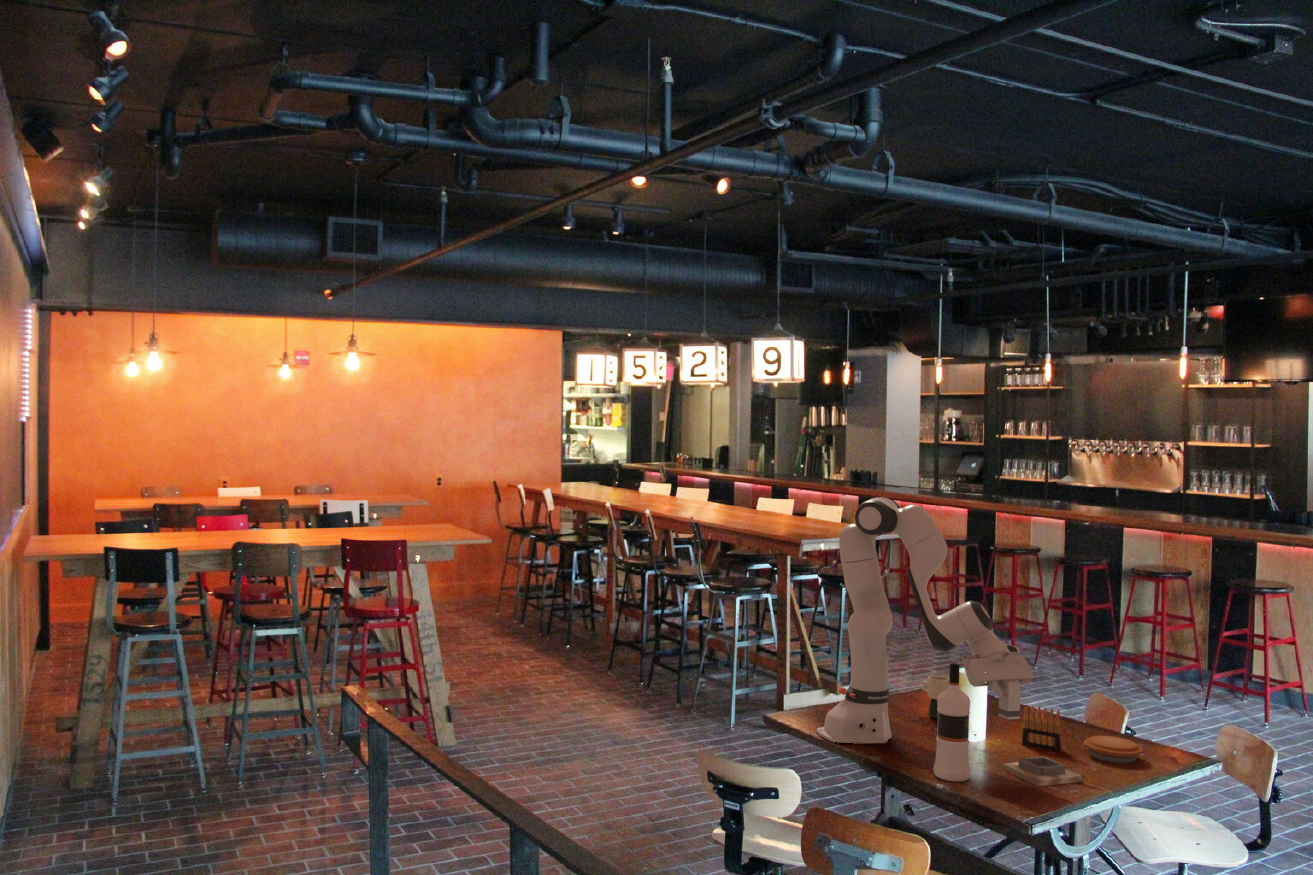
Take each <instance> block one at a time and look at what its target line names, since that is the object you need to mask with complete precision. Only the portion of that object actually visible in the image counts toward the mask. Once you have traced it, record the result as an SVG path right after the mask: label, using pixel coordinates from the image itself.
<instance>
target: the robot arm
mask: <svg viewBox="0 0 1313 875" xmlns="http://www.w3.org/2000/svg"><path fill="white" fill-rule="evenodd" d="M854 521H855V522H854V523H850V524H848V525H846V526H844V527H843V528H842V529H841V530H840V532H839V534H838V535H839V536H838V538H839V540H838V542H839V545H838V546H839V547H838V548H839V557H840V562H841V563H840V564H841V570H842V574H843V575H842V576H843V580H844V585H845V590H846V591H847V594H848V595H849V596H848V597H849V599H850V602H851V604H852V609H853V613H852V614H851V615H850V616H849V618H848V622H847V633H848V645H849V646H848V647H849V653H850V684H849V686H848V687H847V688H845V687H844V686H840V687H839V688H838V690H837V691H838V693H839V694H841V695H842V696H843V695H844V699H842V700H841V701H840V702H839V703H838V704H837V705H835V706H833V707H832V709H830V710H829V711H828V712H827V713H826V715H825V720H824V725H823V726H822V727H817V728H816V734H817V733H818V734H817V735H818V736H820V737H821V736H822V737H821V738H823V737H824V738H825V740H826V739H827V741H828V742H832V743H835V742H842V743H844V742H845V743H847V742H848V743H852V742H854V743H853V744H887V743H888V740H889V739H892V737H893V735H892V731H891V730H892V729H891V727H890V720H889V709H888V708H889V707H888V706H889V703H890V702H889V701H890V689H889V687H888V685H889V684H888V682H889V661H888V660H889V659H888V652H887V640H886V639H887V635H888V634H889V633H890V631H891V630H892V628H893V623H894V619H893V618H894V617H893V614H892V612H891V608H890V603H889V600H888V597H887V594H886V591H885V588H884V584H883V580H882V574H881V569H880V563H879V558H878V553H877V548H876V547H877V546H876V542H877V538H878V537H881V536H882V535H885V534H890V533H891V534H892V533H894V534H896V535H897V536H898V538H900V540H901V541H902V544H904V548H906V551H907V552H908V556H909V566H908V567H907V578H908V580H909V582H908V583H909V584H910V587H911V591H912V594H913V597H914V599H915V603H916V606H917V608H918V611H919V613H920V617H921V620H922V622H923V626H924V631H925V635H926V638H927V640H928V643H929V644H930V646H931V647H932V648H933V649H934V650H936V651H940V652H944V653H948V652H950V651H951V650H953V649H955V648H956V647H957V646H959V645H961V644H963V643H967V644H968V647H969V651H970V654H971V655H964V656H963V657H962V658H961V664H962V665H963V667H964V671H965V675H966V678H967V681H968V682H969V685H970V686H972V687H973V688H974V687H975V688H977V687H988V688H989V689H990V690H991V691H992V692H994V694H996V695H997V697H998V699H999V698H1005V697H1006V693H1005V691H1004V690H1001V689H1000V688H999V681H1000V680H1013V681H1016V682H1019V683H1021V685H1024V684H1026V685H1027V684H1029V683H1030V682H1031V680H1032V679H1033V678H1034V673H1033V670H1032V668H1031V666H1030V665H1029V663H1028V662H1027V660H1026V658H1024V656H1022V655H1021V650H1020V648H1019V647H1018V646H1015V645H1012V644H1011V645H1010V644H1007V643H1004V642H1002V641H1001V640H1000V639H999V637H998V636H997V635H996V634H995V632H994V629H993V626H994V621H993V619H992V618H991V616H990V614H989V612H988V609H987V608H986V607H985V605H984V604H983V603H981V602H978V601H974V600H969V601H966V602H963V603H961V604H959V605H957V606H955V607H954V608H953V609H950V610H948V611H947V612H943V614H939V615H937V614H936V612H935V610H934V607H933V604H932V601H931V598H930V595H929V592H928V583H929V581H930V579H931V578H932V576H933V575H934V574H935V573H936V572H937V571H938V570H939V569H940V567H942V565H943V564H944V563H945V561H946V558H947V556H948V545H947V542H946V540H945V538H944V536H943V534H942V532H941V530H940V529H939V527H938V525H937V524H936V523H935V521H934V519H932V517H931V515H930V514H929V513H928V512H927V511H926V509H925V508H923V506H921V505H919V504H908V505H905V506H904V507H900V505H899V504H898V503H897V502H896V501H895V500H894V499H892V498H891V497H887V496H880V497H878V496H877V497H872V498H870V499H867V500H865V501H863V502H861V504H859V506H857V508H856V510H855V513H854ZM985 672H986V673H985ZM985 682H986V683H985ZM1021 696H1023V693H1022V691H1021V690H1020V698H1021ZM824 738H823V739H824ZM857 742H859V743H857ZM886 742H887V743H886Z"/></svg>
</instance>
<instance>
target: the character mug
mask: <svg viewBox="0 0 1313 875" xmlns="http://www.w3.org/2000/svg"><path fill="white" fill-rule="evenodd" d="M926 685H927V687H926ZM921 687H922V692H927V697H928V698H931V699H930V701H929V707H928V708H929V709H928V712H927V713H928V714H927V715H928V716H929V717H931V718H932V719H936V720H938V710H937V708H938V703H937V698H938V696H939V694H940V693H941V692H943V691H945V690H946V689H948V688H949V676H943V675H929V676H928V677H927V680H924V681H922V686H921Z"/></svg>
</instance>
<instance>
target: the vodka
mask: <svg viewBox="0 0 1313 875" xmlns="http://www.w3.org/2000/svg"><path fill="white" fill-rule="evenodd" d="M960 666H961V665H960V664H959V663H955V662H951V663H949V671H948V672H949V676H948V678H949V688H948V689H946V690H945V691H943V692H941V693H940V694H939V696H938V698H937V703H938V708H937V710H938V719H937V729H936V740H935V741H936V751H935V760H934V765H933V774H934V775H935V777H936V778H938V779H939V780H942V781H946V782H951V783H961V782H962V783H963V782H965V781H968V780H969V779H970V778H971V777H970V776H971V769H970V762H969V761H970V760H969V745H970V744H969V743H970V740H969V739H970V738H969V733H970V731H969V730H970V714H971V712H970V708H971V700H970V697H969V696H968V695H967V694H966V693H965V692H964V691H963V690H961V689H960V668H961V667H960Z"/></svg>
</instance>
